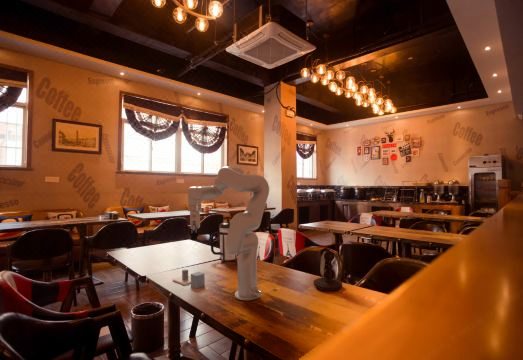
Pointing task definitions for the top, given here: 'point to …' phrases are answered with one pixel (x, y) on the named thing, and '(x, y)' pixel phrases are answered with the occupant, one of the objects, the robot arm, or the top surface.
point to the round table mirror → (327, 272)
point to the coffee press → (223, 243)
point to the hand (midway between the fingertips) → (194, 238)
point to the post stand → (183, 278)
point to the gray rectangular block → (197, 280)
